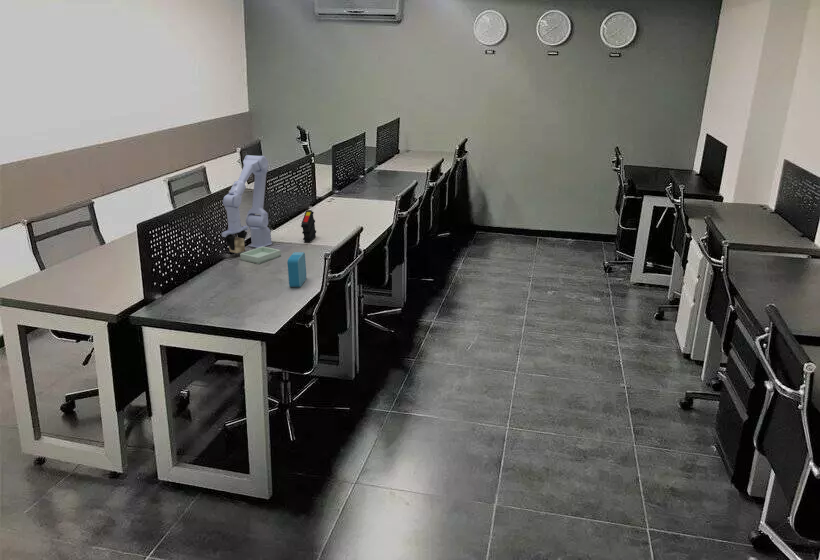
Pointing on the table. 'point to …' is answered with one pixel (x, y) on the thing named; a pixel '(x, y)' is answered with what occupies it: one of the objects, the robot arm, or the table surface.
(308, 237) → the black ridged block
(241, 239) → the birch block
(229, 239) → the robot arm
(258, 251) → the sage tray
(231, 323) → the table surface
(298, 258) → the data package
